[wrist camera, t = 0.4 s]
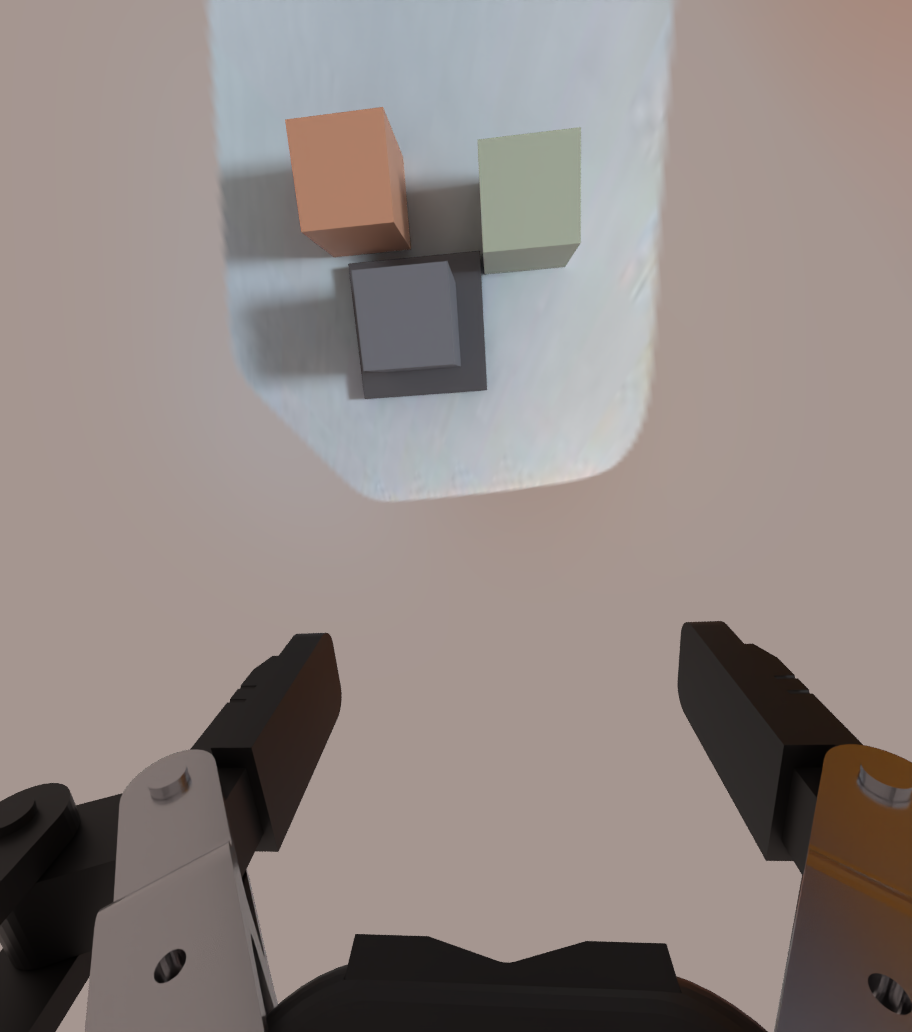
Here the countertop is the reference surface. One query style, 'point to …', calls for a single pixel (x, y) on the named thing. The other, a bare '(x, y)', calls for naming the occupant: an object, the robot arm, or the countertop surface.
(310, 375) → the countertop surface
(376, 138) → the brick terracotta
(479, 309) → the tower base
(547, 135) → the brick sage
